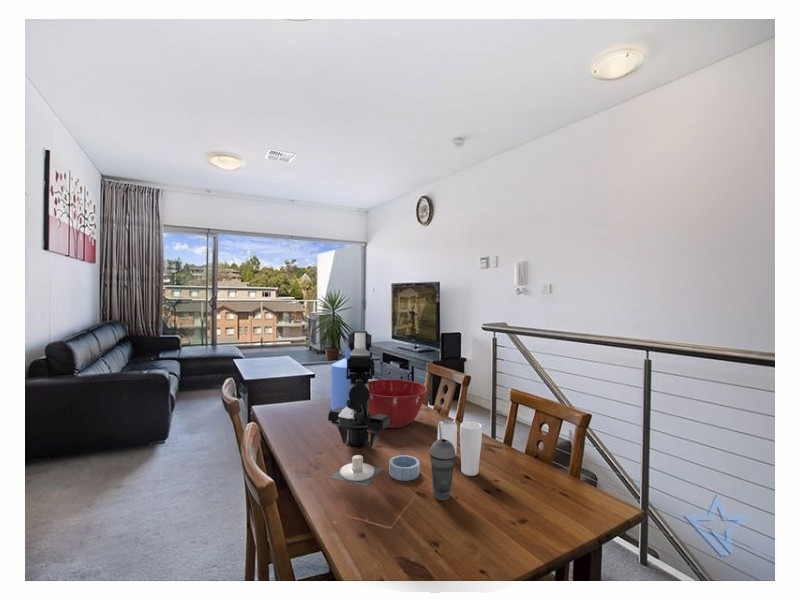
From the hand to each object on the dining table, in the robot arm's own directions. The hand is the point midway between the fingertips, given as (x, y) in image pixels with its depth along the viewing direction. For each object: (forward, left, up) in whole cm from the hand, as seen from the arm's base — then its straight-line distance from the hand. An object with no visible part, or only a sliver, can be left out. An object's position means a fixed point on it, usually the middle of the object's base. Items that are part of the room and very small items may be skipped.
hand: (357, 445), depth 119 cm
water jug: (-36, +55, -9) cm, 66 cm away
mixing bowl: (-9, +47, -9) cm, 49 cm away
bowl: (+13, +6, -9) cm, 17 cm away
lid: (0, 0, -8) cm, 8 cm away
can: (+21, +25, -9) cm, 34 cm away
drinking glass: (+31, +16, -9) cm, 36 cm away
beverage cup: (+27, -1, -9) cm, 28 cm away
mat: (0, 0, -9) cm, 9 cm away
